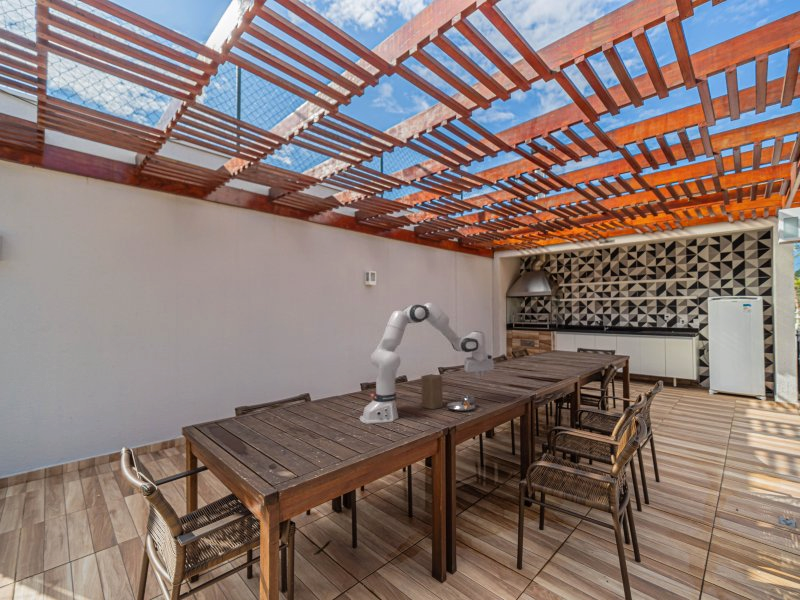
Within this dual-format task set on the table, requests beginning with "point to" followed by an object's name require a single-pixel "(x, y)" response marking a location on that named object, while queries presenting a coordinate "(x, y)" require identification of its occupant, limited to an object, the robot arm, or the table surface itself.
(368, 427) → the table surface
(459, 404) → the turntable
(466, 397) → the cast cover
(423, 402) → the wooden block
